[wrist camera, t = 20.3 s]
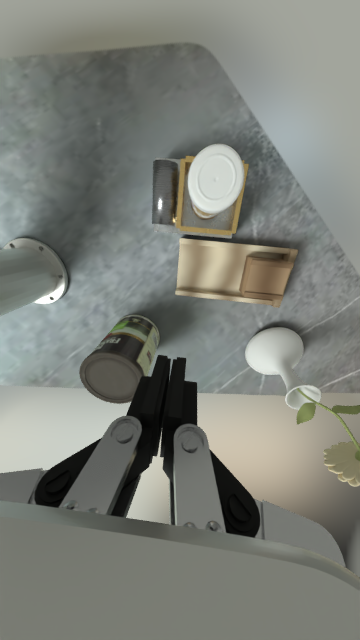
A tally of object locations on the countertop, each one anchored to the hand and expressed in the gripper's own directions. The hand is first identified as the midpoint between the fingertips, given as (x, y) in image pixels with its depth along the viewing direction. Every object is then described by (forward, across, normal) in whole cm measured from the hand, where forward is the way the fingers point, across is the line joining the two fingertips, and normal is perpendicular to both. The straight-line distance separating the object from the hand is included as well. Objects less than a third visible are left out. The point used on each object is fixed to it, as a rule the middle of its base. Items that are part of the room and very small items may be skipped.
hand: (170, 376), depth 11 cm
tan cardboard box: (+26, -12, -2) cm, 29 cm away
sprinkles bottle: (+23, -2, -12) cm, 26 cm away
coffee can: (+27, +10, +14) cm, 32 cm away
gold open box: (+27, 0, -12) cm, 30 cm away
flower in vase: (+27, -20, +13) cm, 36 cm away
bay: (+27, -7, -2) cm, 28 cm away
